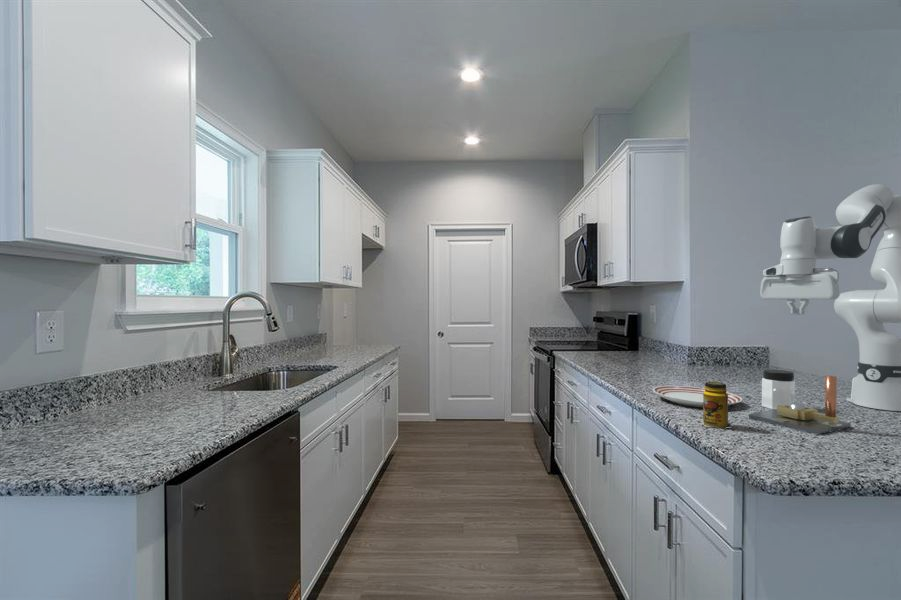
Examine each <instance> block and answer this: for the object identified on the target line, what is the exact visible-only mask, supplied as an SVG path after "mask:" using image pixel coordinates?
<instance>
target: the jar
mask: <svg viewBox="0 0 901 600" xmlns="http://www.w3.org/2000/svg"><path fill="white" fill-rule="evenodd" d="M762 374H763V377H762V378H761V406H762V407H764V408H767V409H770V410H776V409H777V406H778V405H786V404H789V403H796V380H795V373H794V372H793V371H790V370H785V369H763V371H762Z"/></svg>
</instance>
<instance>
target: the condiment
mask: <svg viewBox="0 0 901 600" xmlns="http://www.w3.org/2000/svg"><path fill="white" fill-rule="evenodd" d="M704 388H705V391H704V393H703V407H702V409H703V411H702V412H703V414H702V417H703V418H702V419H701V418H700V425H702V424H703V423H704V425H706V426H703V427H706V428H711V427H715V428H714V429H721V428H725V429H724V430H727V429H726V427H730V426H731V428H732V425H731V422H730V421H729V405H728V394H727V393H728V392H727V390H728V389H727V384H726V383H724V382H719V381H707V382H705V383H704ZM726 392H727V393H726ZM708 426H709V427H708ZM732 429H733V428H732ZM721 430H722V429H721Z"/></svg>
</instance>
